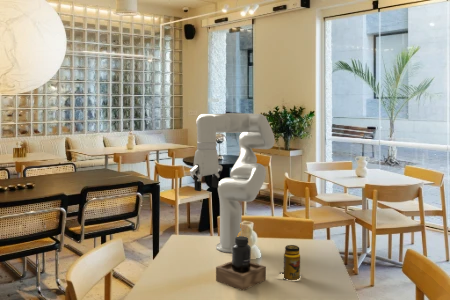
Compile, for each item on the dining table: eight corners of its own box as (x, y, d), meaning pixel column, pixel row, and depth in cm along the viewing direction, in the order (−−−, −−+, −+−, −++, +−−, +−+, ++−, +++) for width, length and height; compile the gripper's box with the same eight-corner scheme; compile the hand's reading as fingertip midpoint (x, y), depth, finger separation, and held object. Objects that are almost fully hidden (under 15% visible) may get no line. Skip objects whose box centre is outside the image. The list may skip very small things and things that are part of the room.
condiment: (299, 282, 180) (299, 250, 179) (276, 279, 183) (276, 248, 181) (302, 275, 187) (302, 244, 186) (280, 272, 190) (280, 242, 188)
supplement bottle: (249, 273, 177) (249, 241, 176) (230, 272, 179) (230, 240, 177) (251, 267, 184) (252, 235, 183) (233, 265, 185) (234, 234, 184)
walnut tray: (239, 271, 191) (239, 258, 190) (265, 280, 182) (266, 266, 181) (216, 280, 181) (216, 266, 180) (242, 290, 172) (242, 276, 172)
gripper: (215, 144, 204) (214, 184, 206) (184, 147, 191) (184, 190, 193) (228, 145, 199) (228, 187, 201) (197, 149, 186) (197, 193, 188)
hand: (206, 189), depth 197 cm, fingers open, 9 cm apart
